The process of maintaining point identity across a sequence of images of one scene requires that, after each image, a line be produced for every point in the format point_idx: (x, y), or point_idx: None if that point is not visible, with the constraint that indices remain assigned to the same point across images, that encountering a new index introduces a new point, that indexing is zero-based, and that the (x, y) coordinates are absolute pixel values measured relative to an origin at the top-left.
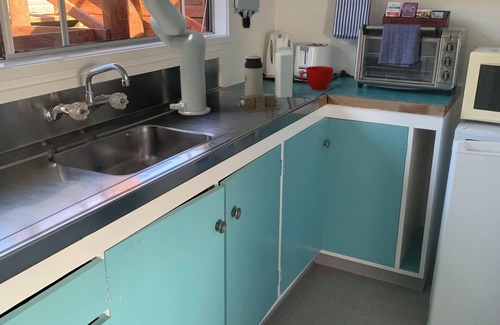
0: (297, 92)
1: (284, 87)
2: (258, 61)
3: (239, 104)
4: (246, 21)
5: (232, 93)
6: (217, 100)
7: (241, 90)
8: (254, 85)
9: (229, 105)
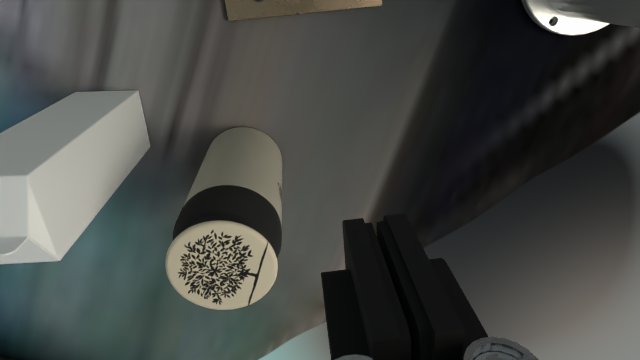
0: None
1: (96, 103)
2: (203, 217)
3: (365, 4)
4: (430, 280)
5: (307, 240)
6: (406, 144)
7: None
8: (248, 148)
9: (400, 33)
